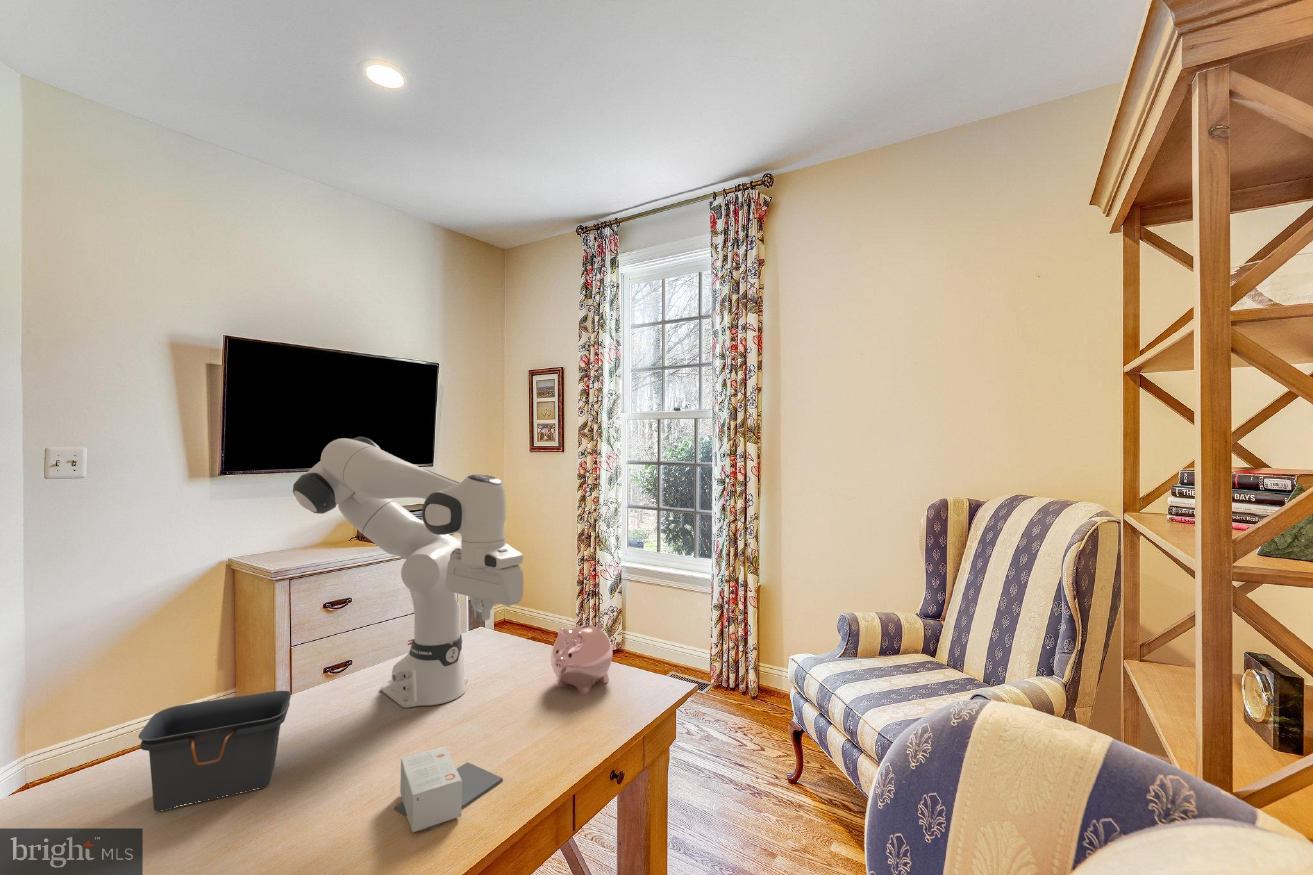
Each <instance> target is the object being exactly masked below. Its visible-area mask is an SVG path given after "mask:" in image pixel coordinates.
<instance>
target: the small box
mask: <svg viewBox="0 0 1313 875" xmlns="http://www.w3.org/2000/svg"><path fill="white" fill-rule="evenodd" d="M399 783H400V784H399V785H400V786H399V787H400V789H399V793H400V796H401V799H402V802H403V803H404V807H405V810H406V813H407V817H406V818H407V820H408V824H409V826H410V830H411V832H412V834H413V833H416V832H419V831H422V830H424V829H427V828H428V827H431V826H434V825H436V824H439V823H441V824H443V823H445V822H447V821H452V820H454V819H456V818H459V817H461V816H462V809H461V803H462V779H461V777H460V775H459V773H458V771H457V767H456V766H455V763H454V761H453V758H452V757H451V754H450V752H449V750H448V748H447V746H446V745H444V746H439V747H437V748H433V749H429V750H425V751H422V752H418V753H415V754H412V755H408V756H403V757H401V758H400V782H399ZM439 825H440V824H439Z"/></svg>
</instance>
